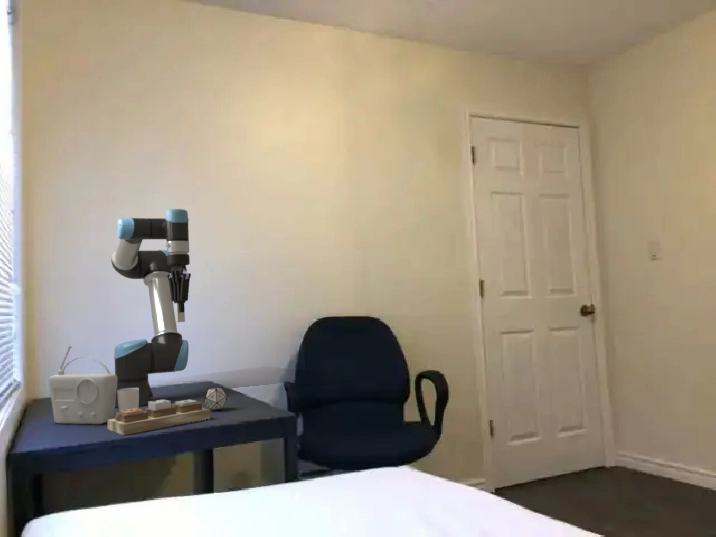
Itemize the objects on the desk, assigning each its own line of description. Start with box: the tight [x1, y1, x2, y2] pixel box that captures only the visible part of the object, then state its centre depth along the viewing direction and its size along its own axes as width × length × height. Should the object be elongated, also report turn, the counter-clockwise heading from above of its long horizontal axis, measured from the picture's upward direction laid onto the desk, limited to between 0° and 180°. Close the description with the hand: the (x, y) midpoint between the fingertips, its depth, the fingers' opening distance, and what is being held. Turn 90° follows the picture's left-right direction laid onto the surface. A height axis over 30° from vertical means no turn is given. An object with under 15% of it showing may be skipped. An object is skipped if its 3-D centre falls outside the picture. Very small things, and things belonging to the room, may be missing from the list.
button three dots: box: [120, 408, 144, 415], centre depth 197 cm, size 5×5×3 cm
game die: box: [201, 385, 229, 411], centre depth 223 cm, size 9×8×10 cm
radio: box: [48, 344, 117, 425], centre depth 211 cm, size 22×8×25 cm, turn 75°
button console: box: [106, 401, 211, 436], centre depth 203 cm, size 12×28×5 cm, turn 132°
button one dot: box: [174, 399, 198, 406], centre depth 209 cm, size 5×5×3 cm
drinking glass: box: [117, 388, 140, 413], centre depth 211 cm, size 7×7×10 cm
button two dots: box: [147, 399, 172, 410], centre depth 203 cm, size 5×5×3 cm
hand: (180, 321), depth 226 cm, fingers closed
